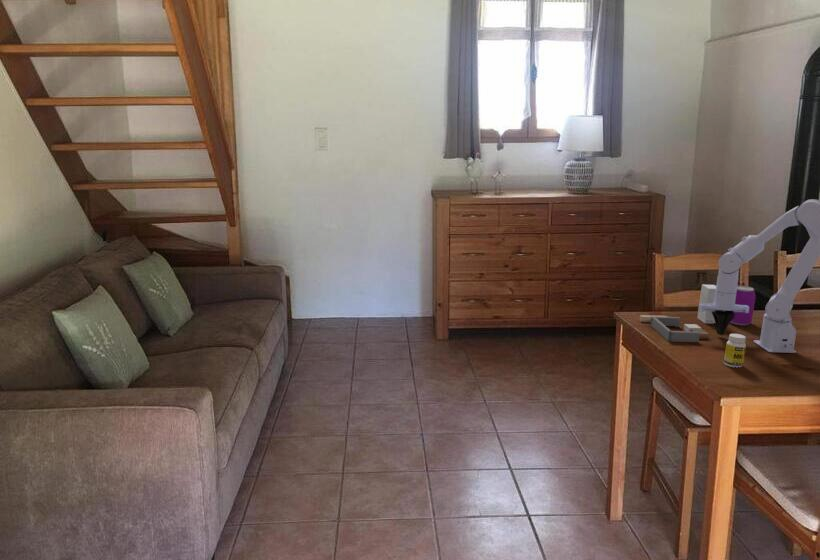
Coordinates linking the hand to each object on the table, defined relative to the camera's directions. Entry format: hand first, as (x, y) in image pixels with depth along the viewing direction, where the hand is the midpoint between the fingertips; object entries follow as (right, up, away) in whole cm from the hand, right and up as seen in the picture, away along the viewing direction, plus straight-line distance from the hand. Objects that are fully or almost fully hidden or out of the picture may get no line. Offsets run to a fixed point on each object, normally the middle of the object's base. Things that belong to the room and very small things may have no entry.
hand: (720, 334), depth 200 cm
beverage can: (+14, +2, +16) cm, 21 cm away
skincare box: (+4, +3, +17) cm, 17 cm away
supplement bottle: (-7, -7, -23) cm, 25 cm away
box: (-13, 0, +3) cm, 14 cm away
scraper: (-13, +3, +15) cm, 20 cm away
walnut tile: (-6, -1, 0) cm, 6 cm away
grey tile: (-6, 0, +6) cm, 8 cm away
